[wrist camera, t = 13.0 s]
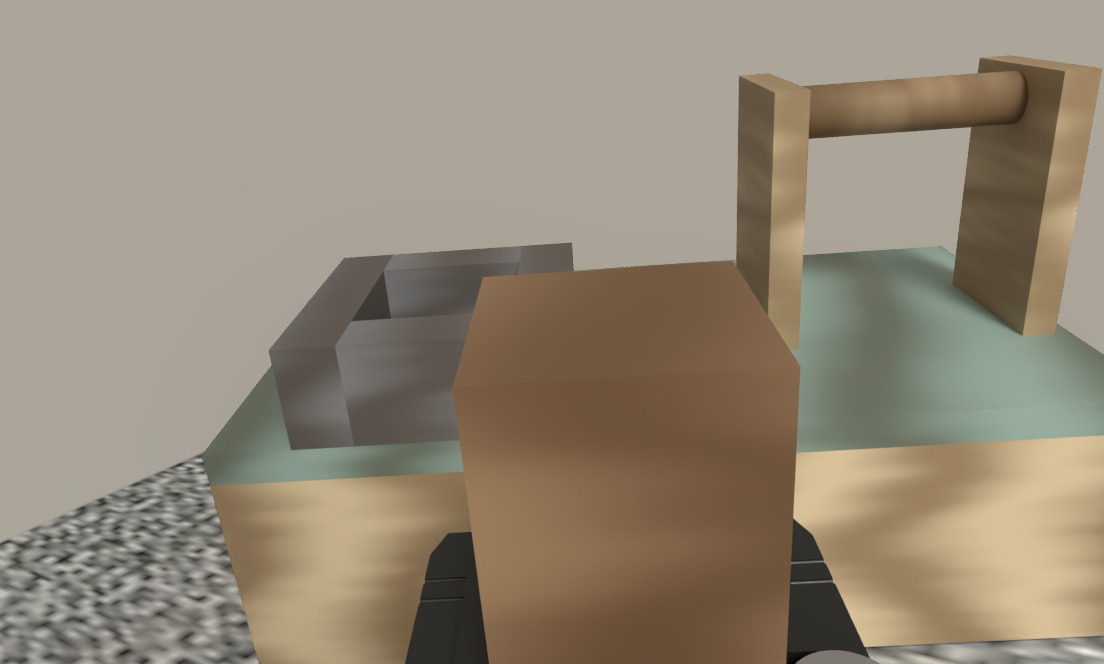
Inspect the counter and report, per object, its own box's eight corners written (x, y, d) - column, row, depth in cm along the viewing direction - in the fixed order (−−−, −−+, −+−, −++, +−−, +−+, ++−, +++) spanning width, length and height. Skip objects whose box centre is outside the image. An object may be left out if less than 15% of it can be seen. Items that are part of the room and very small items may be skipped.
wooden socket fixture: (262, 675, 26) (122, 165, 19) (362, 446, 38) (297, 96, 32) (1111, 635, 25) (1247, 84, 18) (921, 413, 37) (963, 46, 31)
